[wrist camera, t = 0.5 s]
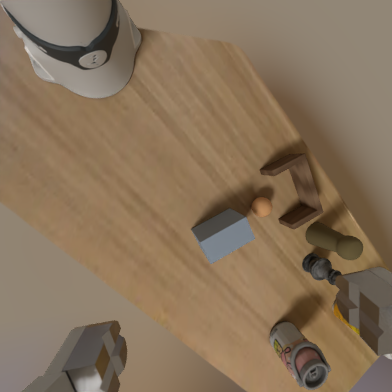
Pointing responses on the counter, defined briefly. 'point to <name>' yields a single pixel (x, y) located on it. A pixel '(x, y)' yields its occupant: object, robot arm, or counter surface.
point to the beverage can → (299, 356)
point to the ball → (261, 206)
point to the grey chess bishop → (320, 268)
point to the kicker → (223, 234)
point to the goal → (298, 189)
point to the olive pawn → (334, 241)
